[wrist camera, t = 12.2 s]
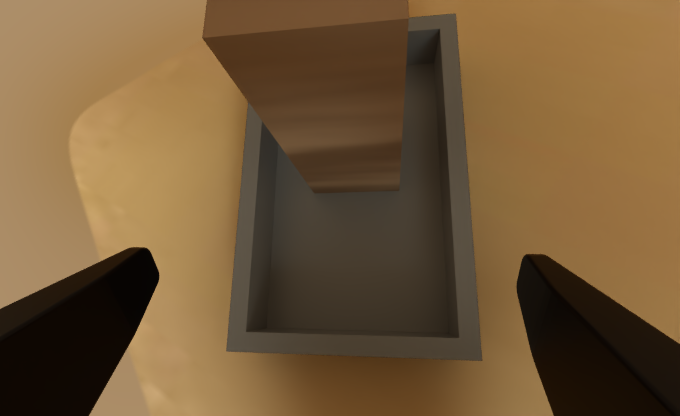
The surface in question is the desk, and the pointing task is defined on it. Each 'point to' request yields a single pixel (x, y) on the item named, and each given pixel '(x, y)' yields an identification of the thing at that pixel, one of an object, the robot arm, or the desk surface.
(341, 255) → the tray
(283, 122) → the walnut block
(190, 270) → the desk surface
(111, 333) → the robot arm
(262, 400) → the desk surface
